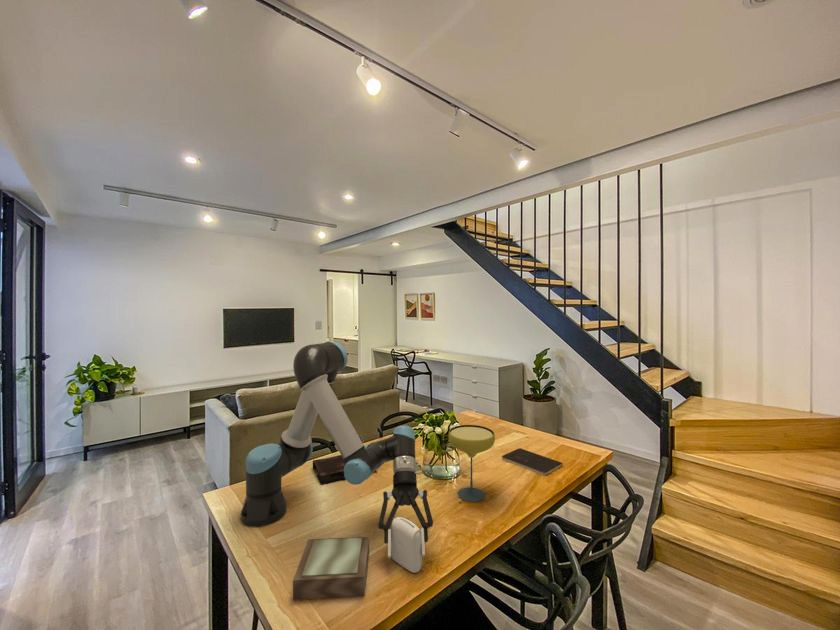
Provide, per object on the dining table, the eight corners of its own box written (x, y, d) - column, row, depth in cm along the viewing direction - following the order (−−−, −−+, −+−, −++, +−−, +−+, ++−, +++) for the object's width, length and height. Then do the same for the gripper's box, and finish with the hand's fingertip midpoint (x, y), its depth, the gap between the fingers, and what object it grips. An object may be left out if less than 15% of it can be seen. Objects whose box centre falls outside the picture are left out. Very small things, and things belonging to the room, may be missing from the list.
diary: (312, 469, 164) (312, 459, 164) (364, 459, 176) (364, 449, 176) (321, 487, 148) (321, 475, 148) (378, 474, 160) (377, 462, 160)
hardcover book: (544, 477, 156) (544, 472, 156) (501, 460, 174) (501, 455, 174) (562, 467, 167) (562, 462, 167) (520, 452, 184) (520, 447, 184)
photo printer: (388, 558, 105) (388, 517, 105) (399, 551, 108) (399, 510, 108) (413, 576, 98) (413, 532, 98) (424, 568, 101) (424, 525, 101)
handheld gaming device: (413, 457, 175) (428, 469, 162) (413, 459, 175) (428, 471, 162) (397, 461, 171) (411, 474, 158) (397, 463, 171) (411, 475, 158)
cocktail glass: (502, 504, 134) (502, 438, 134) (456, 510, 130) (456, 442, 130) (483, 481, 152) (484, 423, 151) (443, 486, 148) (443, 426, 147)
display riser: (293, 599, 90) (292, 578, 90) (308, 555, 106) (308, 538, 106) (364, 595, 92) (364, 575, 91) (369, 553, 107) (369, 535, 107)
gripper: (370, 470, 112) (366, 555, 96) (438, 468, 114) (445, 551, 98) (371, 478, 117) (368, 560, 102) (436, 476, 119) (443, 557, 103)
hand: (406, 556), depth 100 cm, fingers closed on photo printer, 9 cm apart
